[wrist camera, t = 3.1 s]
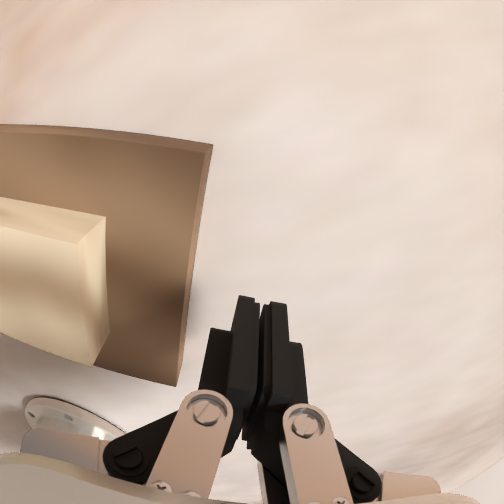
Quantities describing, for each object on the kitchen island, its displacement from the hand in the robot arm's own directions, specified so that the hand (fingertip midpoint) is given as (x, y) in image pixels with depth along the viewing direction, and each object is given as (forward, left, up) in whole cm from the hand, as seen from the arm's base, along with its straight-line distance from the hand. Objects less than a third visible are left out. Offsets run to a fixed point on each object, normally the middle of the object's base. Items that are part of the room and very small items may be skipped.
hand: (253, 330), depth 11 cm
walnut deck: (-1, +9, -4) cm, 10 cm away
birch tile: (-1, +10, -2) cm, 10 cm away
